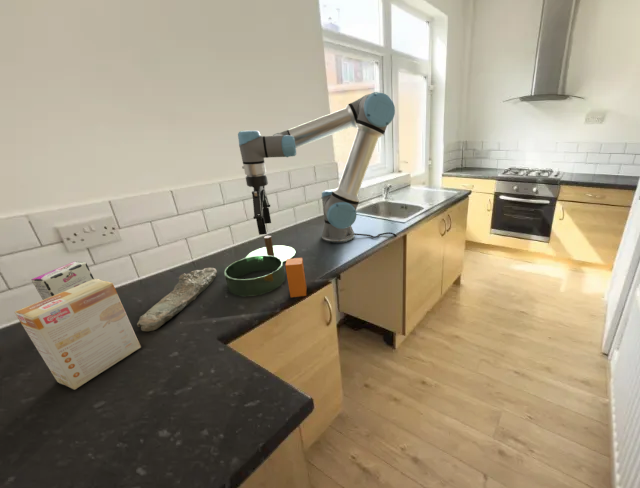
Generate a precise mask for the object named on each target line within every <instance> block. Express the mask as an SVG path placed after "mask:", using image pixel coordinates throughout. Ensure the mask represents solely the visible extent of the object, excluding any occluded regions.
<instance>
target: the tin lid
mask: <svg viewBox="0 0 640 488" xmlns="http://www.w3.org/2000/svg"><path fill="white" fill-rule="evenodd" d="M263 239H264V245H265V246H263V247H261V248H256V249H255V250H252V251H251V252H249V253H248V254H247V255H246V256H245V258H248V257H253V256H261V255H268V256H275V257H278V258H280V259H281V260H282V262H283V264H284V263H286V260H287V259H292V258H295V256H296V254H297V253H296V250H295V248H293V247H292V246H287V245H274V244H273V240H272V235H265V236H264V237H263Z"/></svg>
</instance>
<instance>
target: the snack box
mask: <svg viewBox="0 0 640 488" xmlns="http://www.w3.org/2000/svg"><path fill="white" fill-rule="evenodd" d="M284 267H285V273H286V279H287V284H288V291H289V296H290V298H299V297H306V296H307V293H308V292H307V291H308V290H307V288H308V287H307V281H306V280H307V279H306V274H305V266H304V259H303V257H293V258H292V259H287V260H286V262H285V266H284Z"/></svg>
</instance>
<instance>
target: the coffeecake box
mask: <svg viewBox="0 0 640 488" xmlns="http://www.w3.org/2000/svg"><path fill="white" fill-rule="evenodd" d="M122 303H123V302H121V299H120V297H119V294H118V292H117V289H116V288H115V285H114V283H113V282H110V281H105V280H102V279H99V278H94V279H93V280H90V281H88V282H85V283H83V284H81V285H78V286H76V287H74V288H71V289H69V290H66V291H64V292H61V293H59V294H56V295H54V296H52V297H49V298H47V299H44V300H43V299H41V300H39V301H37V302H35V303H32V304H30V305H28V306H25V307H23V308H20V309H18V310H15V311H14V314H15V316H16V317H17V319H18V321H19V322H20V324H21V326H22V327H23V329H24V330H25V332H26V334H27V336H28V337H29V339H30V340H31V342H32V344H33V346H34V347H35V348H36V350H37V352H38V354H39V355H40V356H41V358H42V360H43V361H44V363H45V365H46V367H47V368H48V369H49V371H50V373H51V374H52V376H53V377H54V379H55V381H56V382H57V383H59V384H60V385H63V386H65V387H68V388H70V389H71V390H74V391H76V390H77V389H78V388H80V387H82V386H83V385H84V384H86V383H87V382H89V381H92V379H94V378H95V377H97V376H99V375H100V374H101V373H103V372H105V371H107V370H108V369H110V368H111V367H113V366H114V365H116V364H117V363H119V362H120V361H122V360H124V359H125V358H128V357H129V356H130V355H131V354H133V353H134V352H136V351H138V350H139V349H141V348H142V345H141V344H140V341H139V340H138V338H137V335H136V333H135V331H134V328H133V326H132V323H131V321H130V319H129V317H128V315H127V312H126V309H125V308H124V305H123V304H122Z"/></svg>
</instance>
